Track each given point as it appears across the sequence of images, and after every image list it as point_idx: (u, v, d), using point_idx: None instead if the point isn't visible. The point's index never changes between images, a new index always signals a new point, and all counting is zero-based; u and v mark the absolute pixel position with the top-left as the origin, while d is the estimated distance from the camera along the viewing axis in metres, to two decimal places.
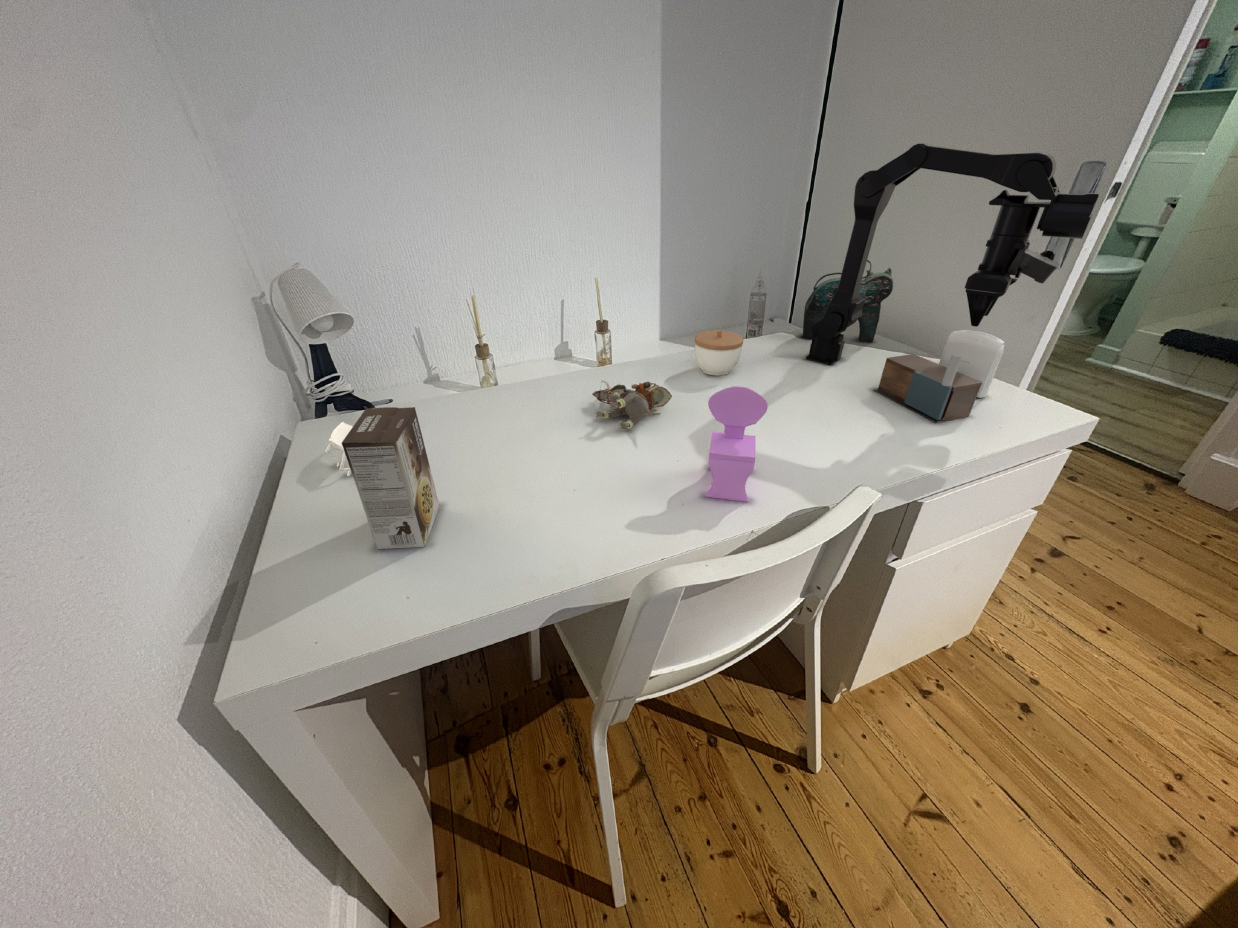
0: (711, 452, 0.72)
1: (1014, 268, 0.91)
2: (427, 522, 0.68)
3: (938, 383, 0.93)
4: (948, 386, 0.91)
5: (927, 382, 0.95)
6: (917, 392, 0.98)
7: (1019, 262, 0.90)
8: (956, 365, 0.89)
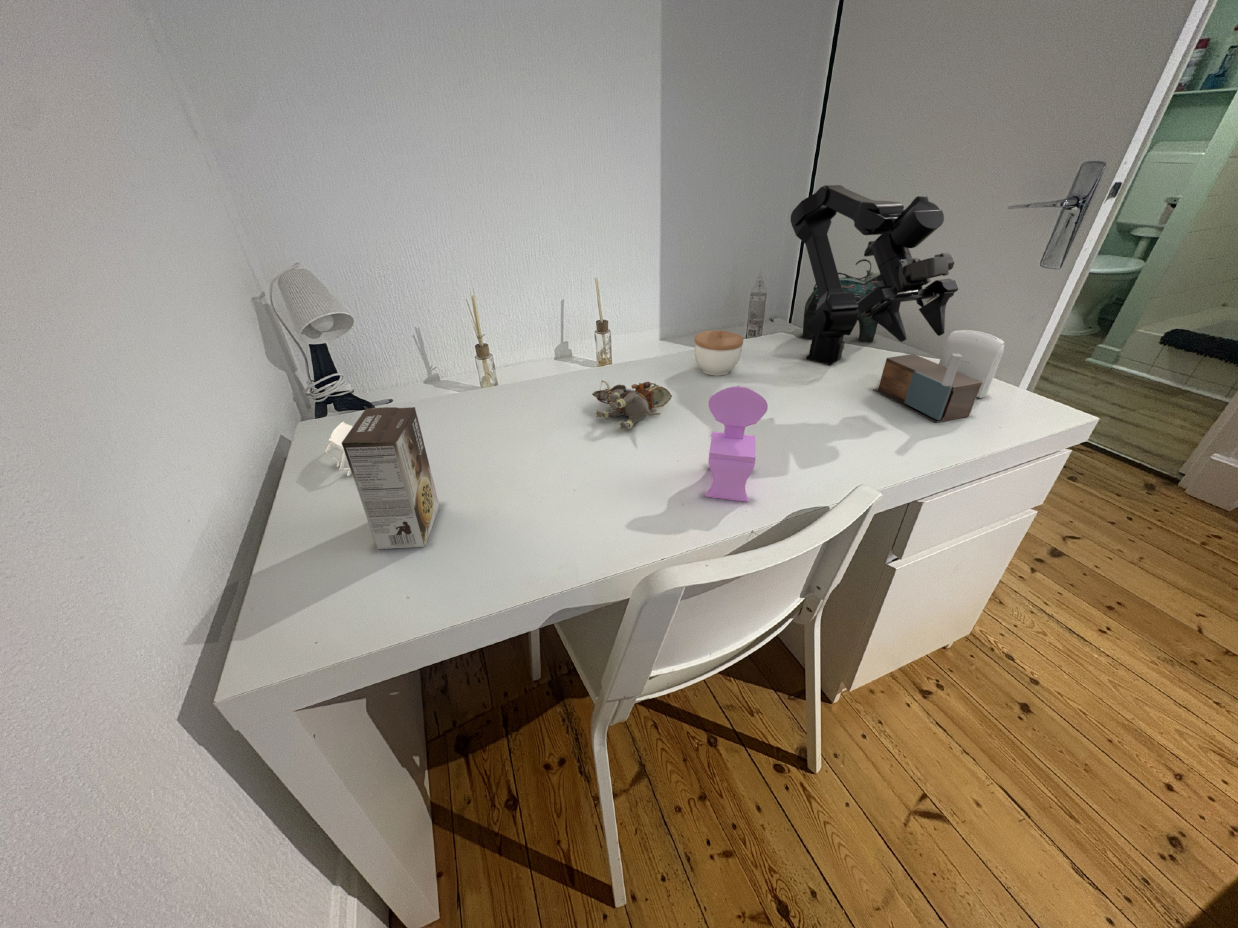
0: (711, 452, 0.72)
1: (903, 280, 0.94)
2: (427, 522, 0.68)
3: (938, 383, 0.93)
4: (948, 386, 0.91)
5: (927, 382, 0.95)
6: (917, 392, 0.98)
7: (902, 274, 0.93)
8: (956, 365, 0.89)
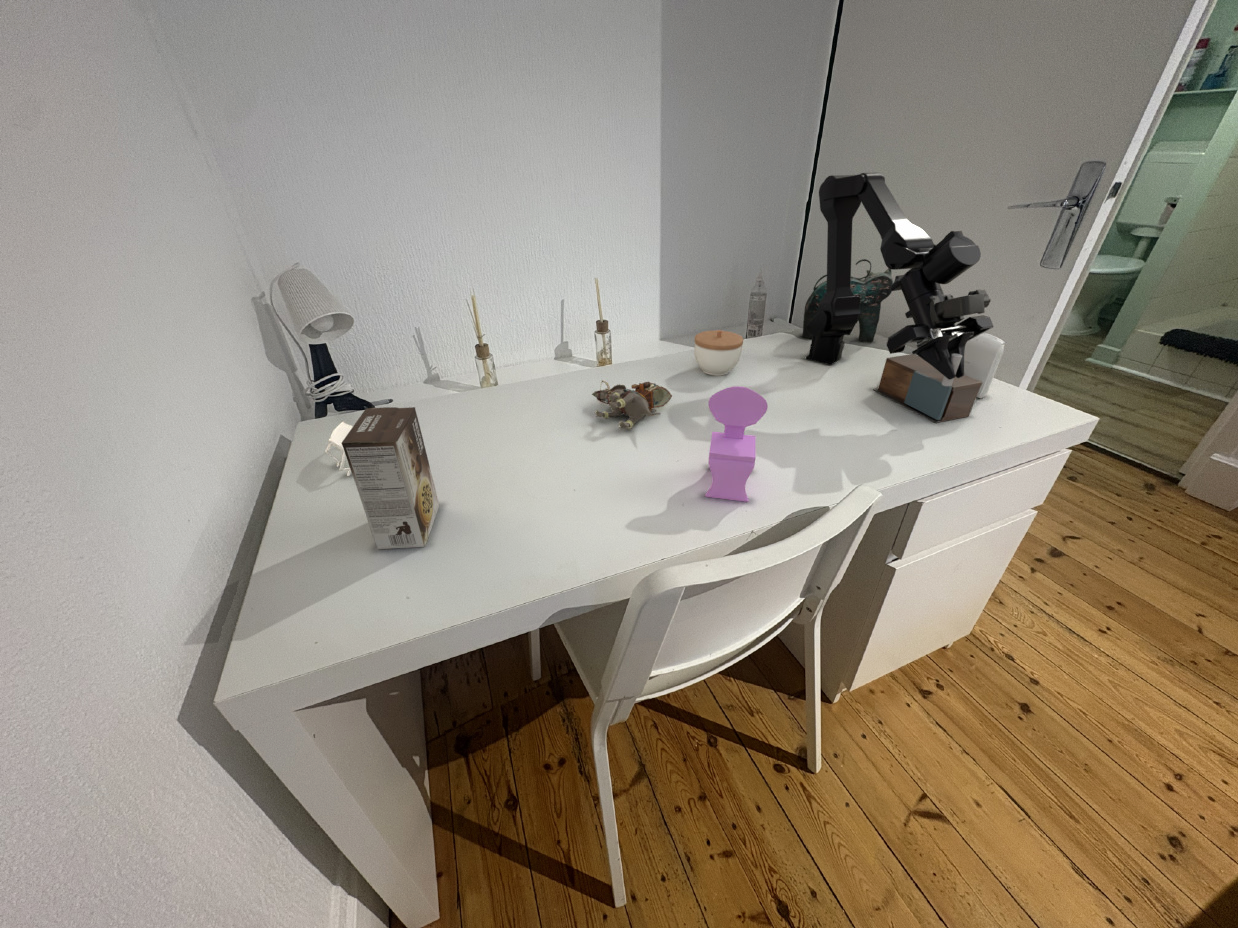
0: (711, 452, 0.72)
1: (934, 318, 0.89)
2: (427, 522, 0.68)
3: (938, 383, 0.93)
4: (948, 386, 0.91)
5: (927, 382, 0.95)
6: (917, 392, 0.98)
7: (934, 311, 0.88)
8: (956, 365, 0.89)
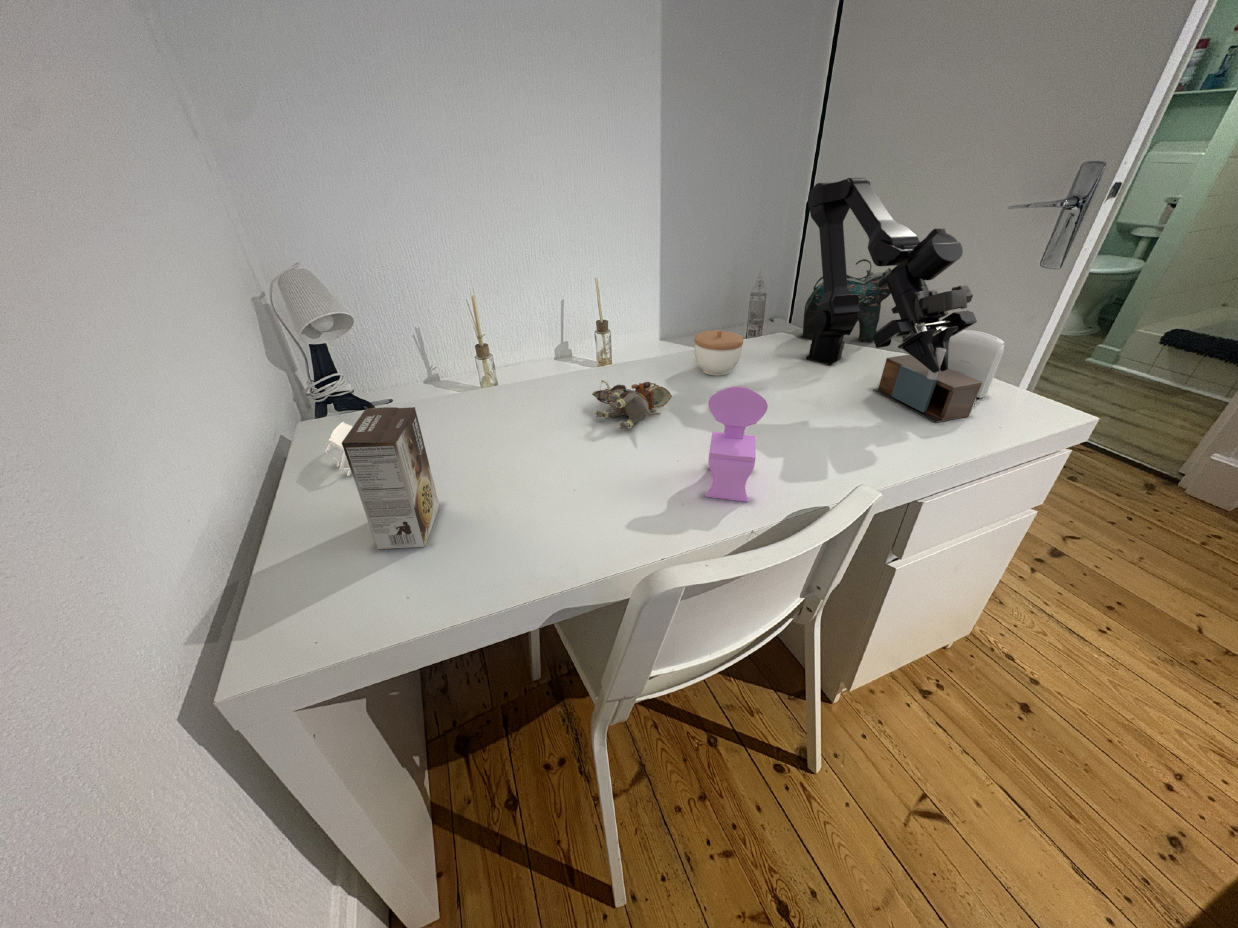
0: (711, 452, 0.72)
1: (919, 313, 0.91)
2: (427, 522, 0.68)
3: (923, 376, 0.96)
4: (933, 379, 0.94)
5: (913, 376, 0.98)
6: (903, 385, 1.00)
7: (919, 307, 0.91)
8: (940, 359, 0.92)
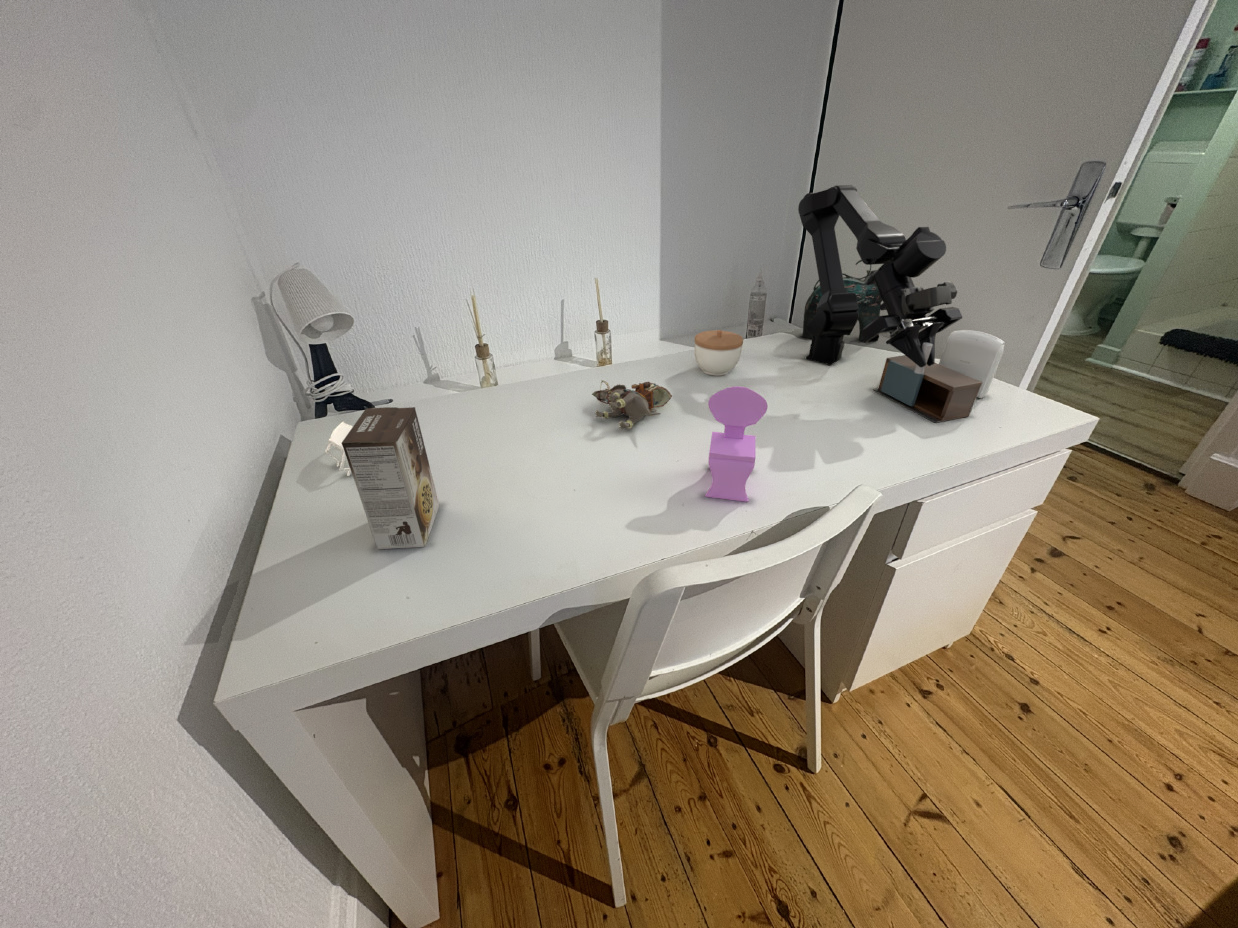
0: (711, 452, 0.72)
1: (906, 309, 0.94)
2: (427, 522, 0.68)
3: (911, 371, 0.98)
4: (920, 373, 0.96)
5: (901, 370, 1.00)
6: (892, 380, 1.03)
7: (905, 303, 0.94)
8: (927, 353, 0.94)
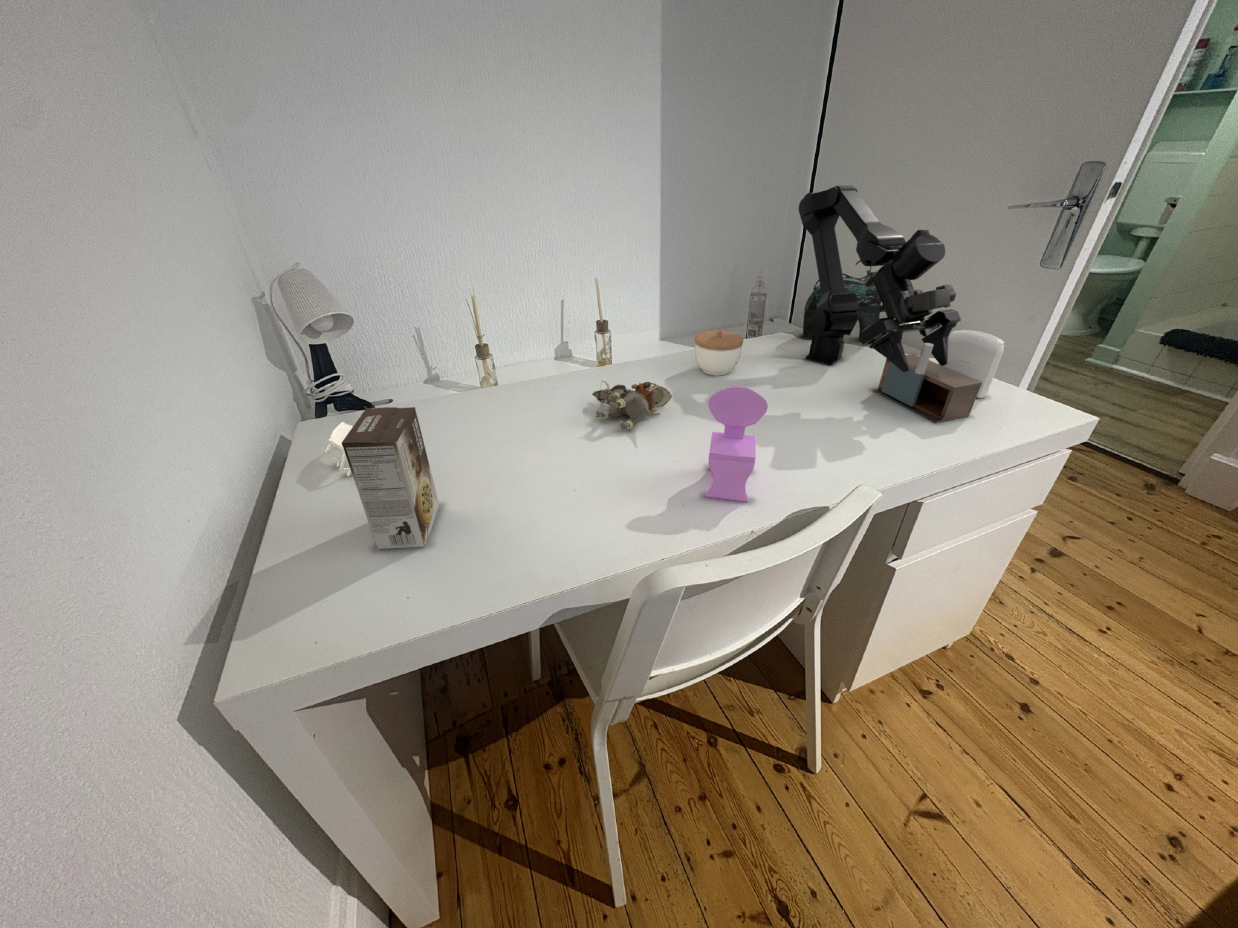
0: (711, 452, 0.72)
1: (904, 312, 0.94)
2: (427, 522, 0.68)
3: (912, 371, 0.98)
4: (921, 374, 0.96)
5: None
6: (893, 380, 1.02)
7: (904, 305, 0.94)
8: (928, 354, 0.94)
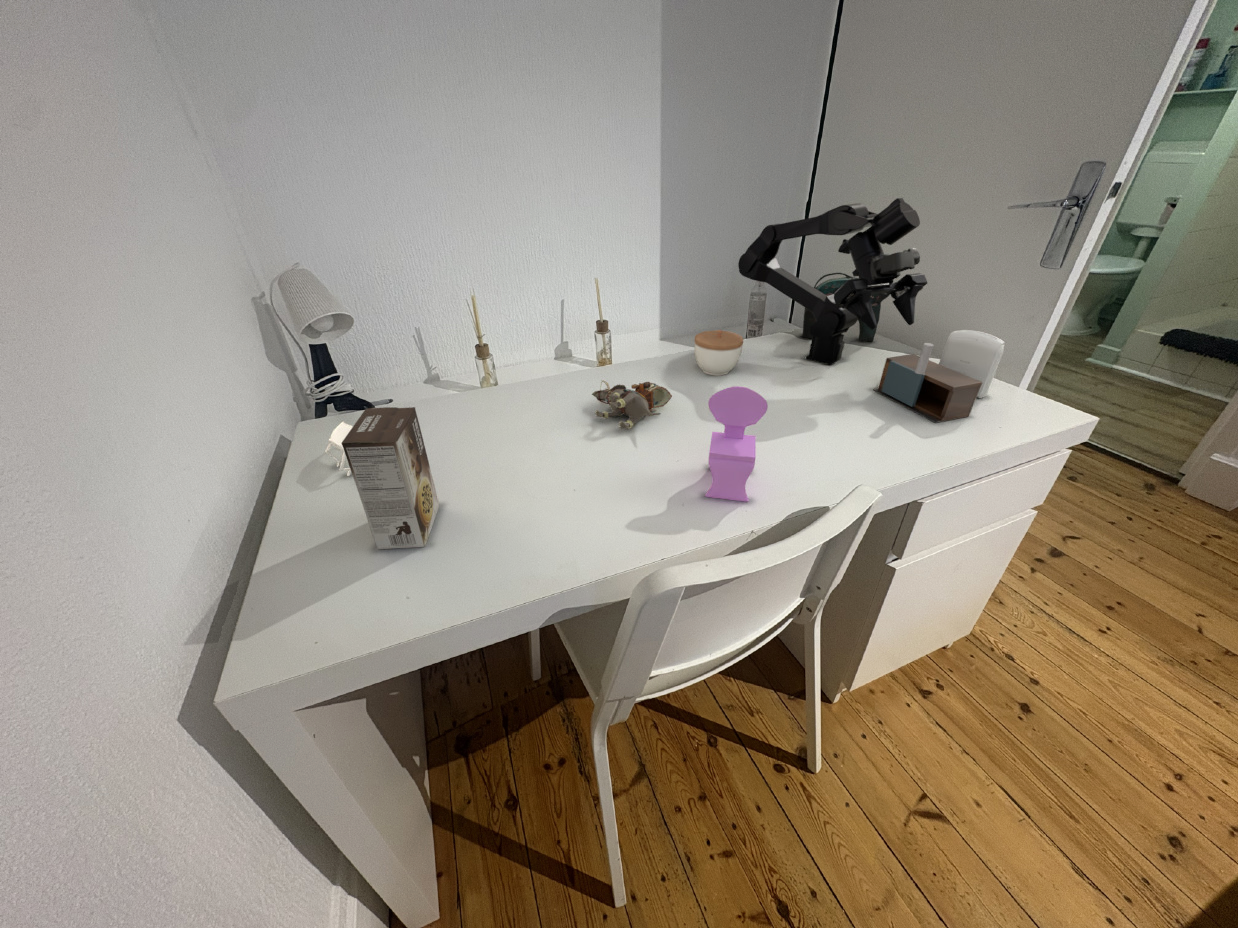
0: (711, 452, 0.72)
1: (874, 274, 1.03)
2: (427, 522, 0.68)
3: (912, 371, 0.98)
4: (921, 374, 0.96)
5: (902, 371, 1.00)
6: (893, 380, 1.02)
7: (873, 268, 1.02)
8: (928, 354, 0.94)
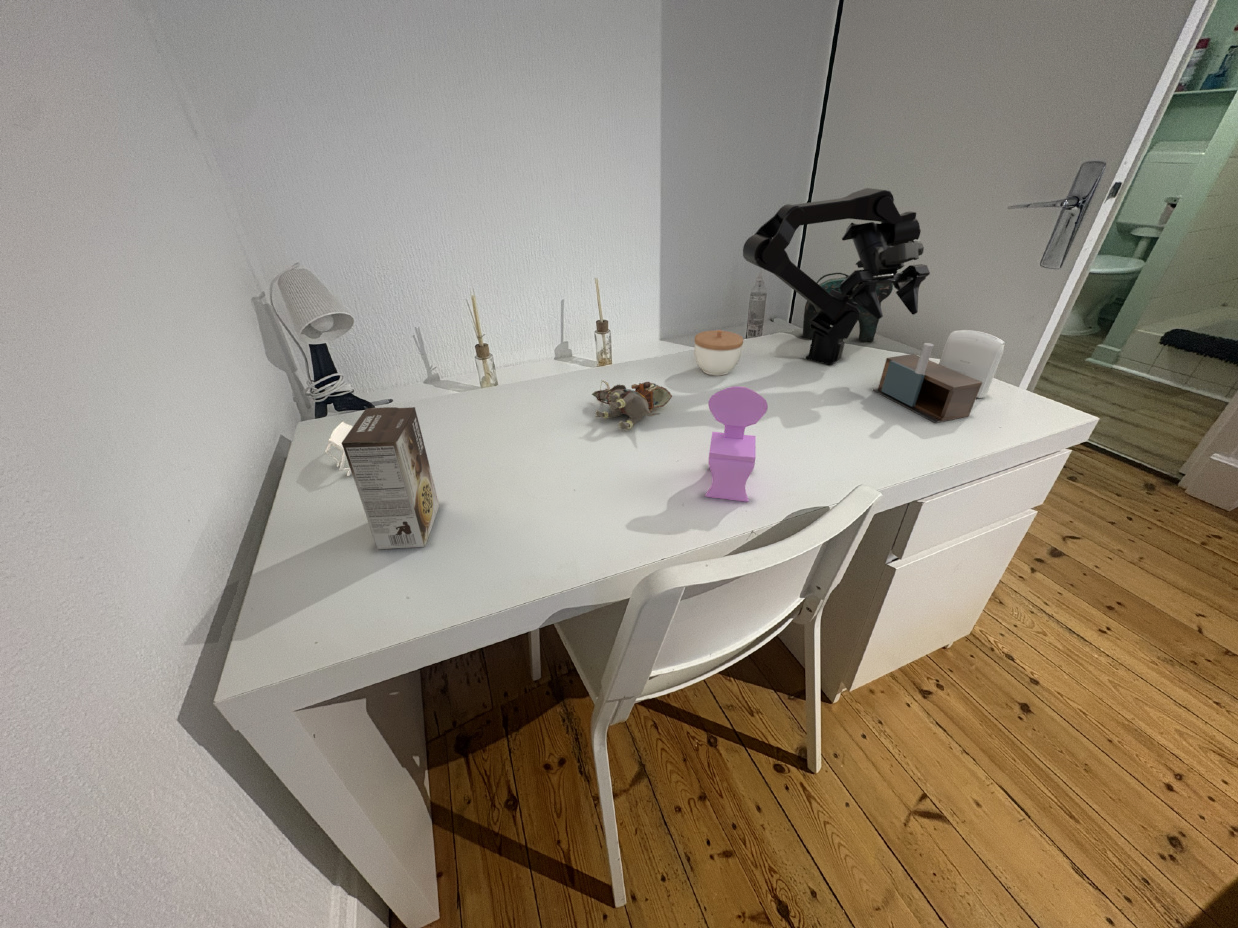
0: (711, 452, 0.72)
1: (879, 265, 1.05)
2: (427, 522, 0.68)
3: (912, 371, 0.98)
4: (921, 374, 0.96)
5: (902, 371, 1.00)
6: (893, 380, 1.02)
7: (879, 259, 1.05)
8: (928, 354, 0.94)
